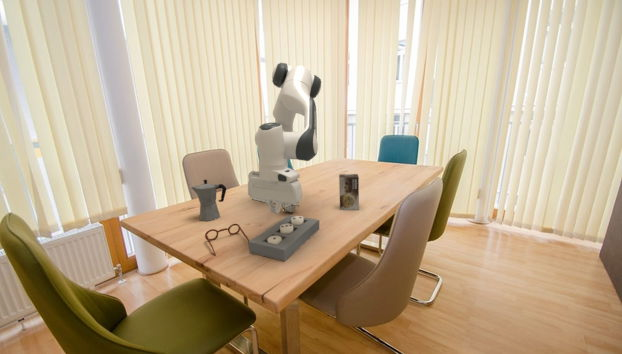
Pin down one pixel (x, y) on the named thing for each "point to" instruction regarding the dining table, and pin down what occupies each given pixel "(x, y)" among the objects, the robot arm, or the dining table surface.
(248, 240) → the glasses
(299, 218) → the button two
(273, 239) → the button one
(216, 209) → the coffeepot
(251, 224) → the dining table surface
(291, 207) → the game die
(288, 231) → the button three
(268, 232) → the button panel
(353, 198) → the coffee box
